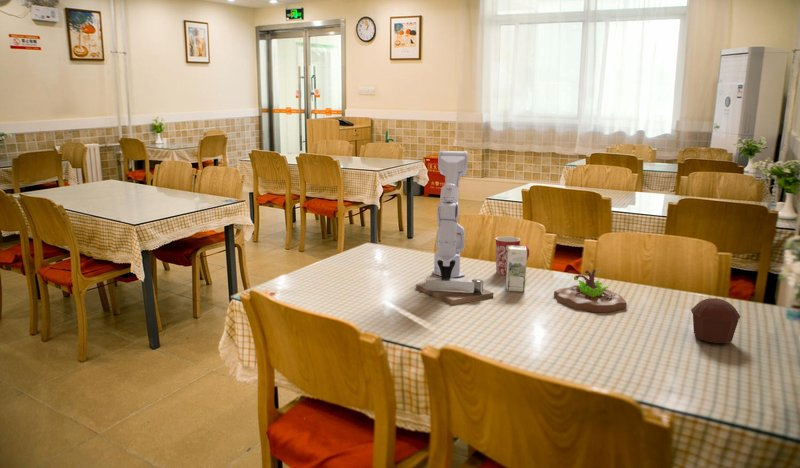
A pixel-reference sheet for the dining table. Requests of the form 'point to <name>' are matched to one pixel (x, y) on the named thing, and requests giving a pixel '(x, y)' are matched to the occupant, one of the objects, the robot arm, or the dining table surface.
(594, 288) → the plant
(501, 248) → the mug
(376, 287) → the dining table surface
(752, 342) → the dining table surface
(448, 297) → the label board
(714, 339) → the muffin
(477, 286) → the swing bar
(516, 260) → the syrup box
